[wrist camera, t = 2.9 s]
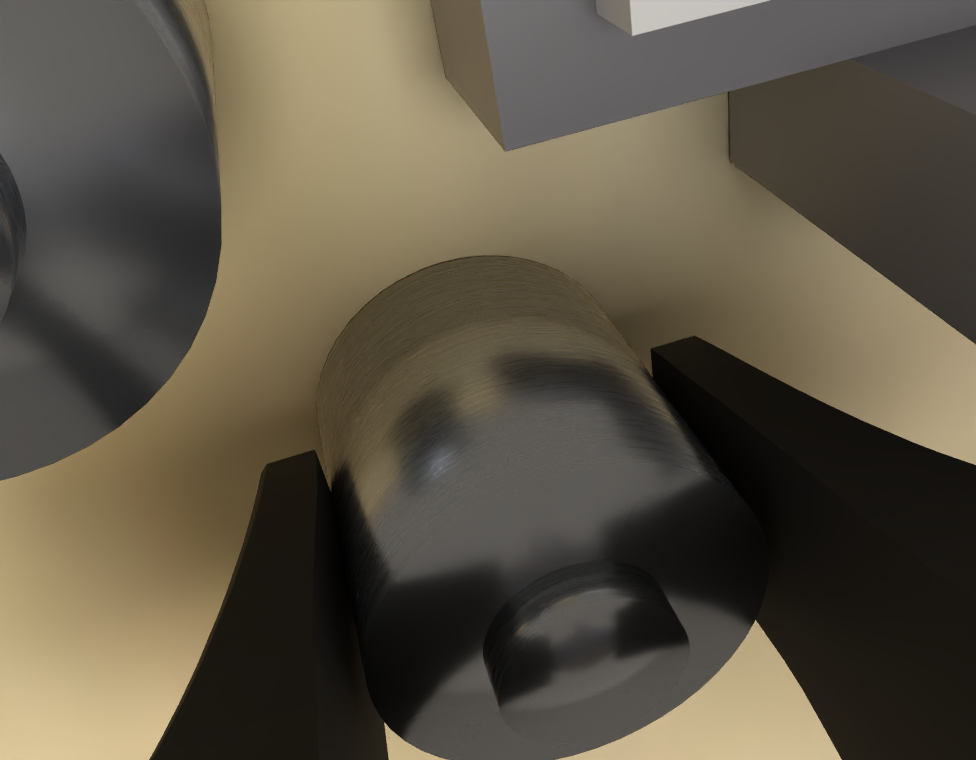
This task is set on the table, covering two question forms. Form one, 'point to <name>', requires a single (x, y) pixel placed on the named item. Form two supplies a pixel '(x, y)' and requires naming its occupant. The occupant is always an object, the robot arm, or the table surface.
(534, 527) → the weight
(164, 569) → the table surface
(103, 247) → the cylinder
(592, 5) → the scale
